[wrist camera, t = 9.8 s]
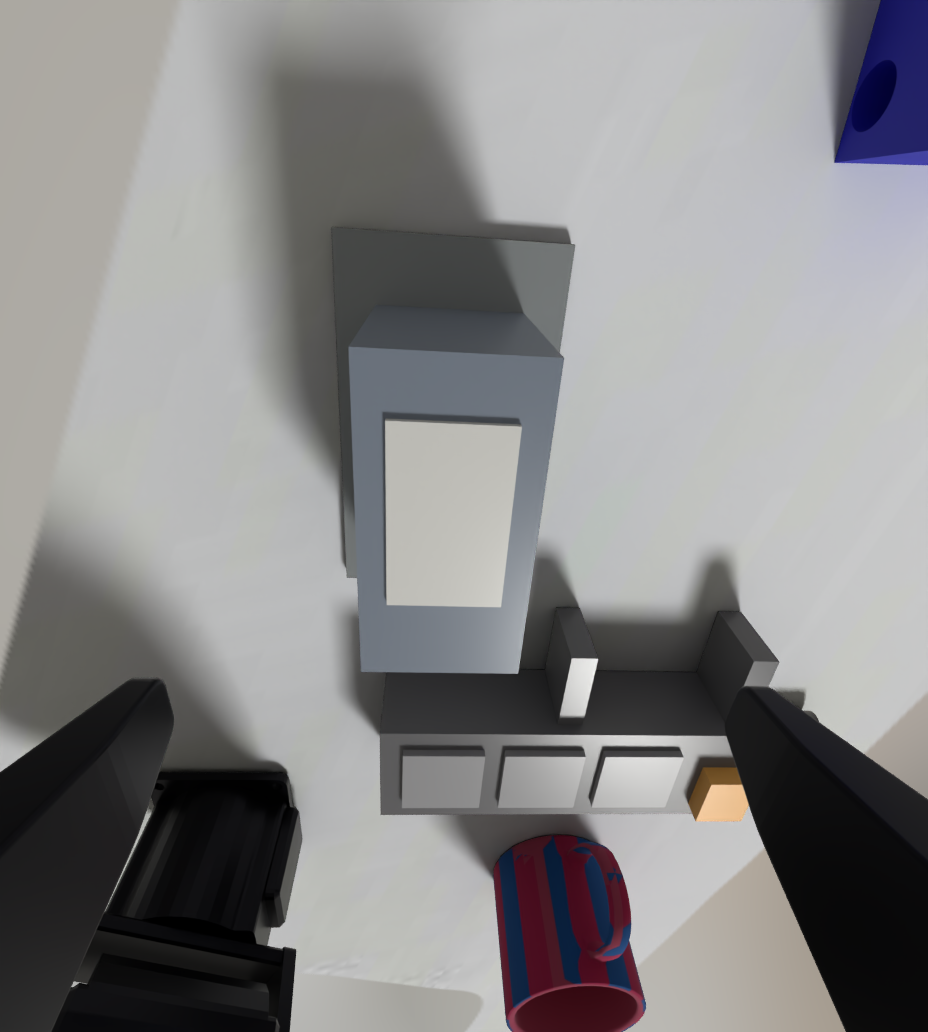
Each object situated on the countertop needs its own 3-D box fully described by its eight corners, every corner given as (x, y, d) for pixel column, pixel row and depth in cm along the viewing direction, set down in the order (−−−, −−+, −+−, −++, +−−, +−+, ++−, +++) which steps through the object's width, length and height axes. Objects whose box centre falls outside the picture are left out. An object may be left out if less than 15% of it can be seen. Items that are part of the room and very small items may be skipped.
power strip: (387, 745, 26) (379, 833, 23) (386, 603, 22) (376, 681, 19) (784, 747, 28) (839, 830, 24) (852, 614, 24) (930, 689, 20)
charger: (379, 556, 21) (360, 675, 15) (375, 304, 17) (347, 348, 11) (497, 559, 21) (518, 677, 16) (524, 313, 17) (565, 359, 12)
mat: (348, 571, 22) (346, 577, 21) (333, 227, 16) (331, 227, 16) (524, 576, 22) (526, 582, 22) (572, 244, 16) (575, 245, 16)
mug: (474, 888, 33) (483, 1037, 27) (551, 786, 29) (582, 937, 23) (573, 906, 34) (601, 1052, 28) (659, 812, 30) (715, 960, 24)
